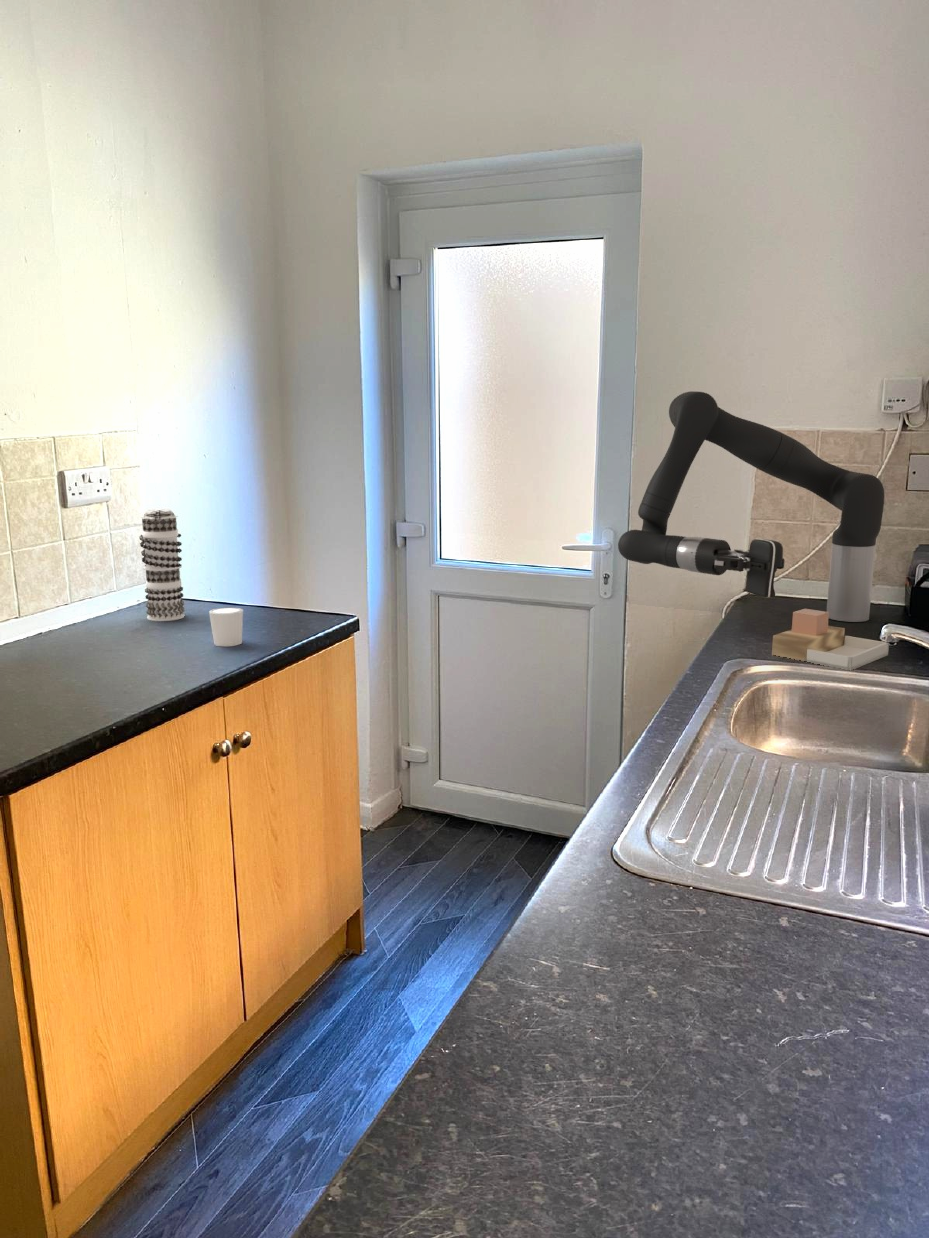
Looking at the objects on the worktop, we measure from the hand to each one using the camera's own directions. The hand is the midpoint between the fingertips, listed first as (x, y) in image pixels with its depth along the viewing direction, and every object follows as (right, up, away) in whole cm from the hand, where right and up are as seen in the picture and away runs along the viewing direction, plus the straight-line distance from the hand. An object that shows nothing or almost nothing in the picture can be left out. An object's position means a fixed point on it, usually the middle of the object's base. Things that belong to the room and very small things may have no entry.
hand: (776, 565), depth 193 cm
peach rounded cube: (+6, -13, -3) cm, 15 cm away
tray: (+11, -18, -8) cm, 23 cm away
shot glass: (-112, -16, +6) cm, 113 cm away
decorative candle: (-133, -11, +31) cm, 137 cm away
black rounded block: (-2, -6, +3) cm, 7 cm away
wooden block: (+6, -17, -2) cm, 18 cm away
